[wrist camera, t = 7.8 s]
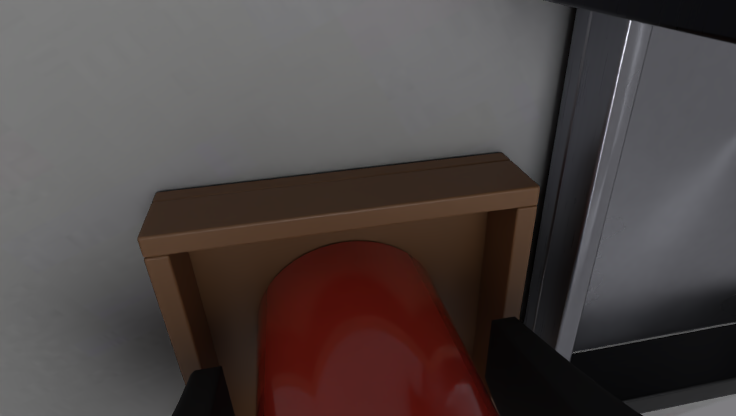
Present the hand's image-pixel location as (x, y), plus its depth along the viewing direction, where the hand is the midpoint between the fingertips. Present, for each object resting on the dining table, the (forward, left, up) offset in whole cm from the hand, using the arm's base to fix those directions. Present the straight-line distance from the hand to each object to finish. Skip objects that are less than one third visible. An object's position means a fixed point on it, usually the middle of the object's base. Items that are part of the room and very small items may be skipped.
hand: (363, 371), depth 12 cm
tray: (0, 0, -2) cm, 2 cm away
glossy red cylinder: (0, 0, -2) cm, 2 cm away
